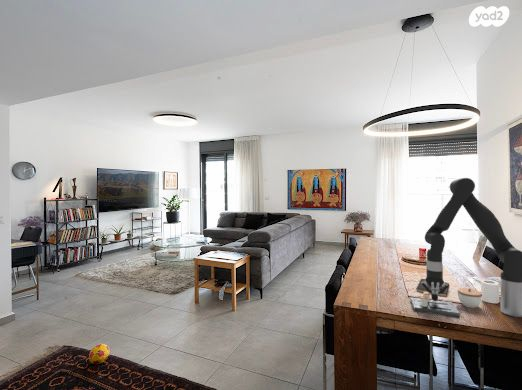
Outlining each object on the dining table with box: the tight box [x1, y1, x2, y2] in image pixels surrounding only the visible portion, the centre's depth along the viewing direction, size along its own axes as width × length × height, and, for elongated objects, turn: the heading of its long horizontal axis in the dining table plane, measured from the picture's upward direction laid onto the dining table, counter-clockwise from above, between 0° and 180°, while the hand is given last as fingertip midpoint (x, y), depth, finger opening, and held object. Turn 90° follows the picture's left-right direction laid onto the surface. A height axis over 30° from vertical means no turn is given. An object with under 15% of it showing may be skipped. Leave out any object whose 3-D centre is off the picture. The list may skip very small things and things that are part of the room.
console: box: [410, 297, 461, 318], centre depth 147 cm, size 20×14×2 cm
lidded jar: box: [457, 287, 483, 309], centre depth 150 cm, size 11×11×9 cm
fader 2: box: [420, 295, 427, 307], centre depth 145 cm, size 2×3×4 cm
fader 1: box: [422, 292, 431, 302], centre depth 151 cm, size 2×3×4 cm
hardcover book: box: [416, 278, 450, 298], centre depth 177 cm, size 16×23×2 cm
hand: (434, 300), depth 150 cm, fingers closed
